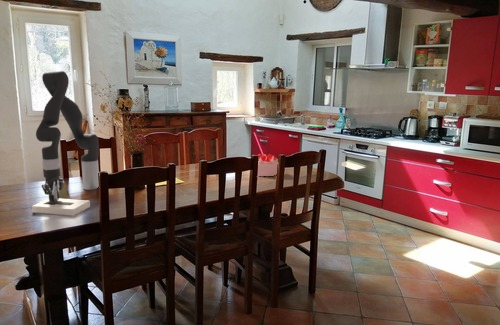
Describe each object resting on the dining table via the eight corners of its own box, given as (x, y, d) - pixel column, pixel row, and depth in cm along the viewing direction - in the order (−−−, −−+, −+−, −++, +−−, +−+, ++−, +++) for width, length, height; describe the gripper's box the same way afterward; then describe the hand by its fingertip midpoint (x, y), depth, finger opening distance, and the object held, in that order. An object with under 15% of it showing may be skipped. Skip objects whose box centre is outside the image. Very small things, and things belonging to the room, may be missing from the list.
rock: (46, 200, 199) (67, 196, 203) (45, 185, 202) (65, 181, 206) (51, 206, 209) (71, 202, 212) (49, 192, 212) (69, 188, 215)
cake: (275, 178, 267) (276, 158, 264) (247, 176, 271) (248, 156, 268) (279, 172, 285) (280, 153, 282) (254, 170, 290) (254, 151, 287)
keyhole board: (51, 204, 200) (50, 197, 199) (90, 207, 197) (89, 200, 196) (32, 213, 186) (31, 206, 186) (73, 216, 183) (73, 209, 182)
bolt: (53, 206, 195) (51, 184, 192) (62, 207, 194) (60, 184, 191) (47, 209, 190) (45, 186, 188) (56, 210, 189) (54, 187, 187)
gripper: (53, 164, 195) (56, 196, 198) (34, 170, 181) (37, 204, 185) (67, 164, 194) (69, 197, 197) (48, 171, 180) (51, 205, 184)
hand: (54, 200), depth 191 cm, fingers closed on bolt, 3 cm apart
